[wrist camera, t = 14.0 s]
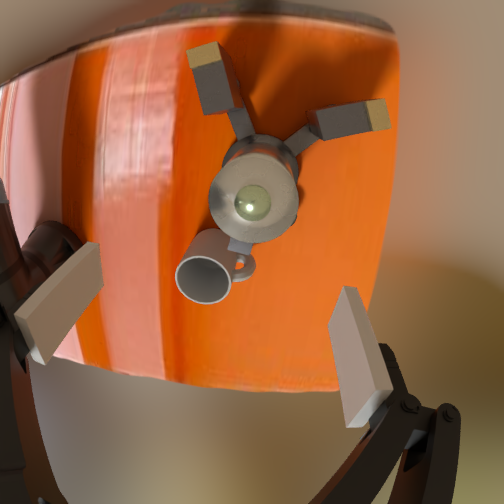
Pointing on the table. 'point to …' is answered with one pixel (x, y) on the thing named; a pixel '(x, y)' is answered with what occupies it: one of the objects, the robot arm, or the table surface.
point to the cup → (211, 267)
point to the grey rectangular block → (215, 79)
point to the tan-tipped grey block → (349, 118)
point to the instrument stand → (257, 184)
